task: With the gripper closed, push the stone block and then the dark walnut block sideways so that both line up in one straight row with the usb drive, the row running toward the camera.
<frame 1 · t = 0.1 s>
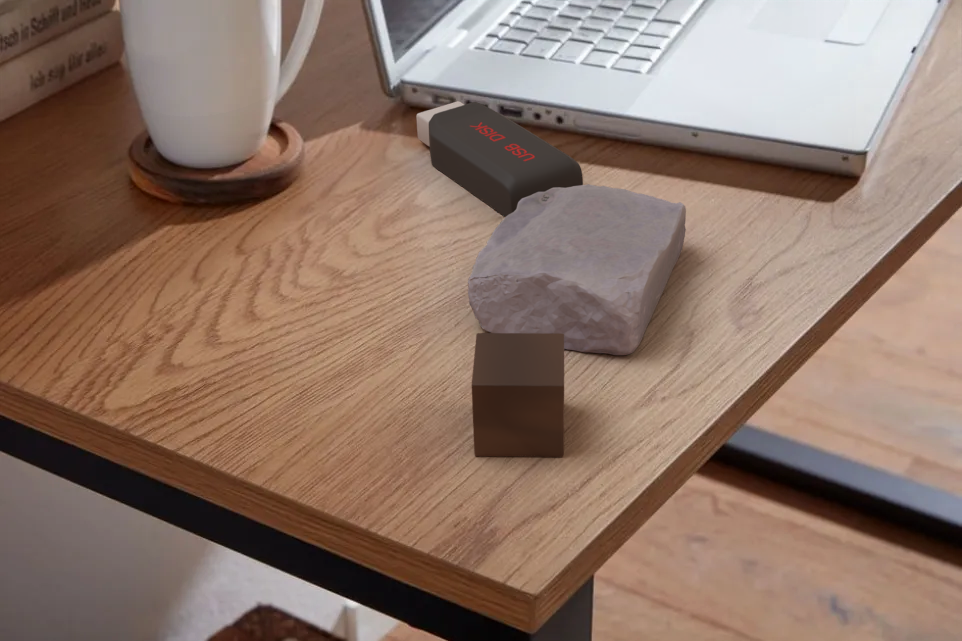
usb drive: (491, 173, 83), on the table
walnut block: (520, 429, 61), on the table
stone block: (573, 291, 71), on the table
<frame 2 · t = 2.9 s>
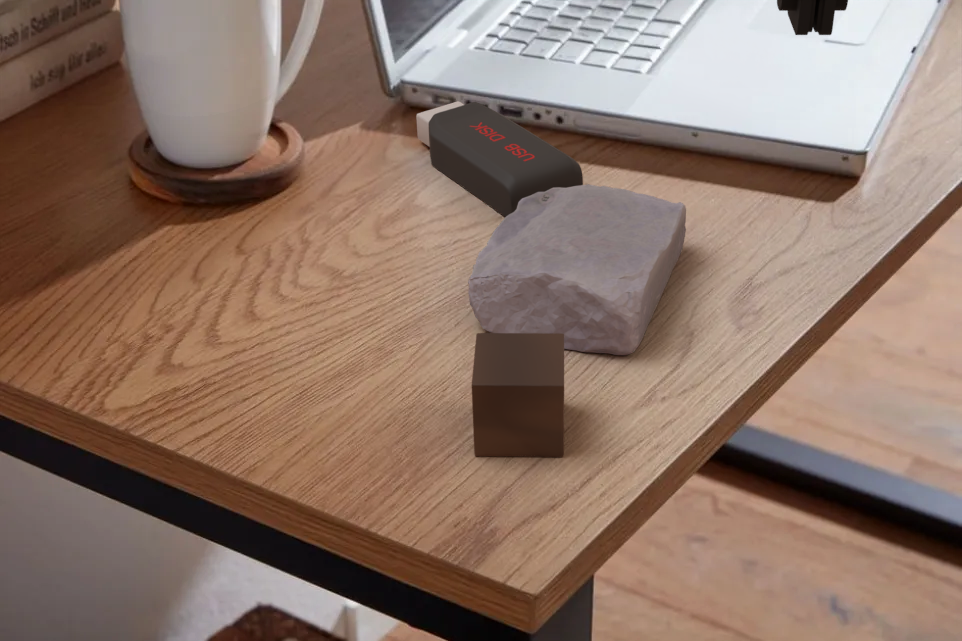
hand: (808, 23, 62), 15 cm above the table, tool pointing down, fingers closed
nothing on the table moved.
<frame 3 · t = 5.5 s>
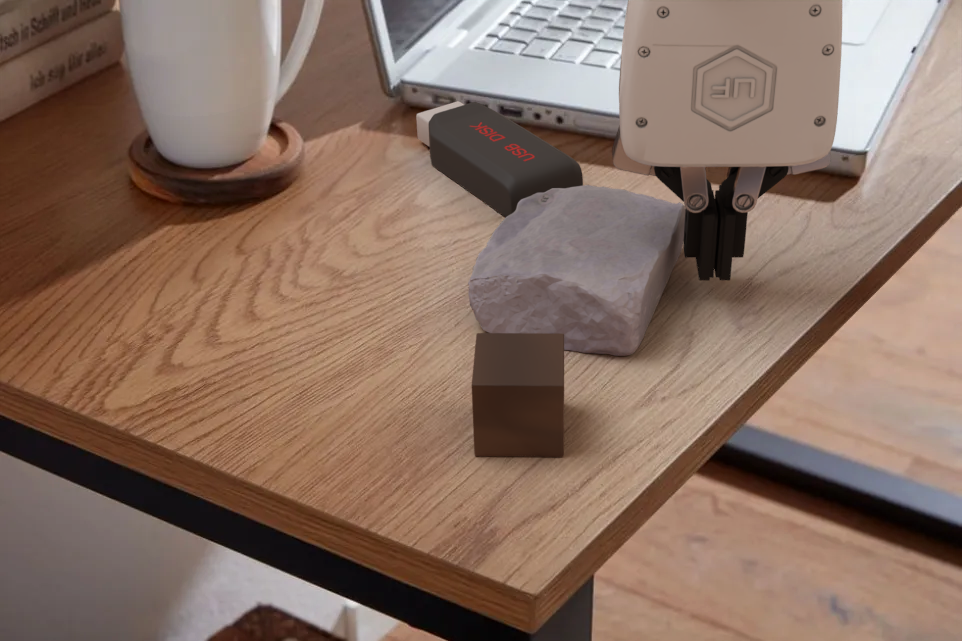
hand: (711, 266, 70), 1 cm above the table, tool pointing down, fingers closed
stone block: (573, 292, 71), on the table, touching gripper
everything else where it was.
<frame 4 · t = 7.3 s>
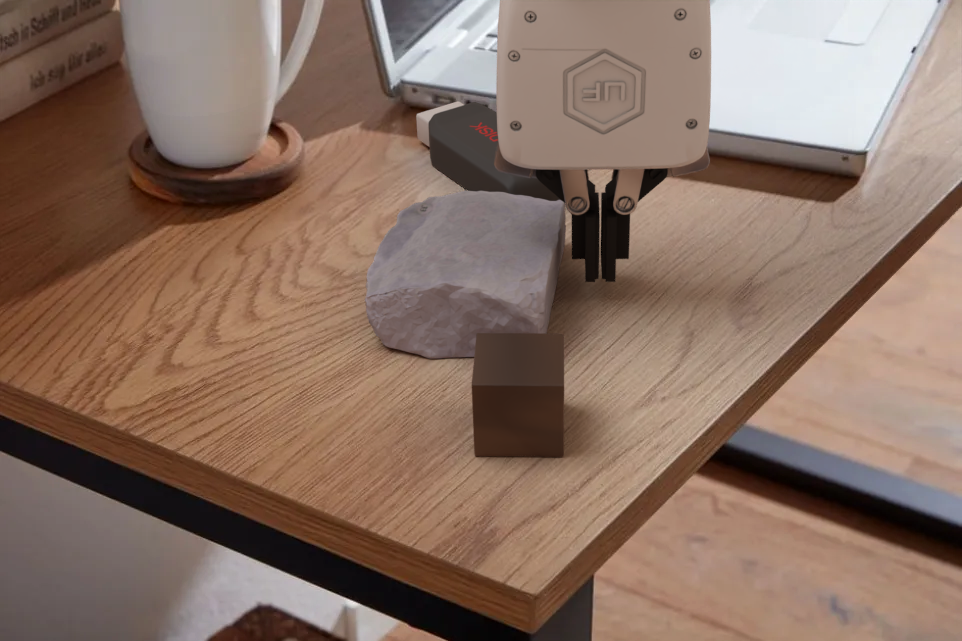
hand: (599, 267, 70), 1 cm above the table, tool pointing down, fingers closed
stone block: (465, 298, 71), on the table, touching gripper
everything else where it was.
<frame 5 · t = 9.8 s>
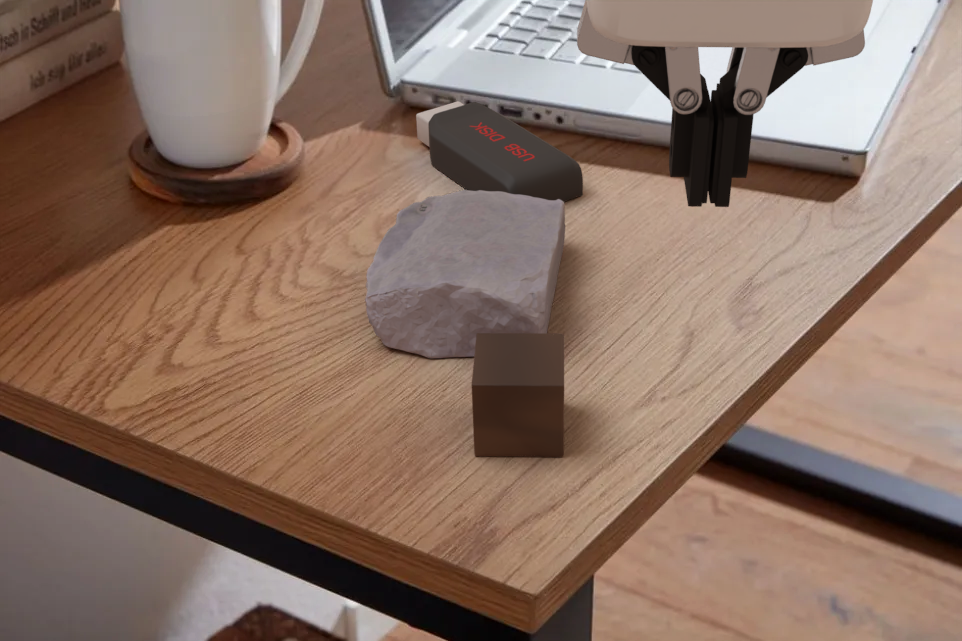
hand: (705, 190, 54), 12 cm above the table, tool pointing down, fingers closed
stone block: (465, 298, 71), on the table
everything else where it was.
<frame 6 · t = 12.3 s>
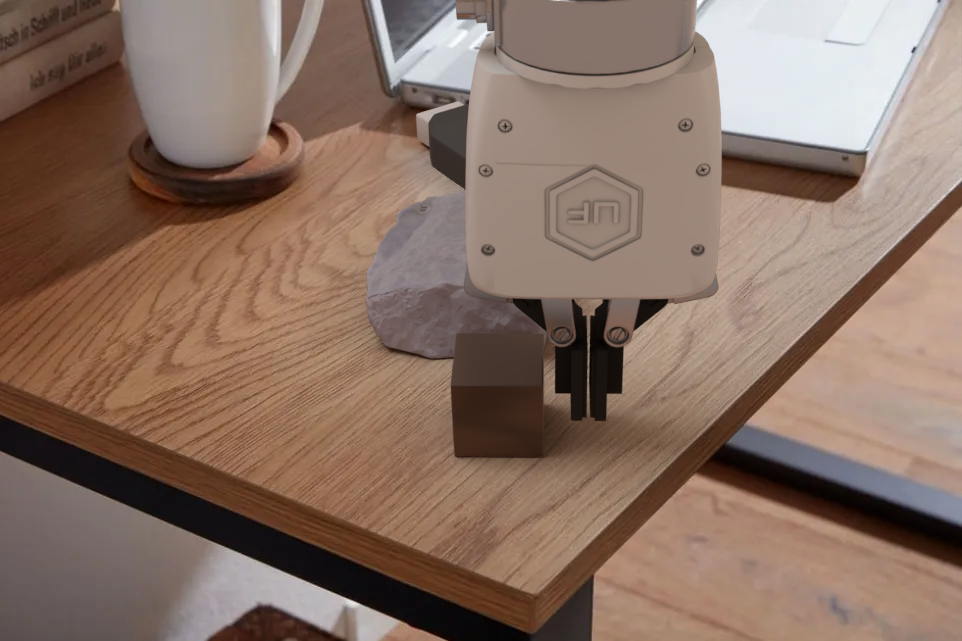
hand: (587, 401, 60), 2 cm above the table, tool pointing down, fingers closed
walnut block: (500, 429, 61), on the table, touching gripper
everything else where it was.
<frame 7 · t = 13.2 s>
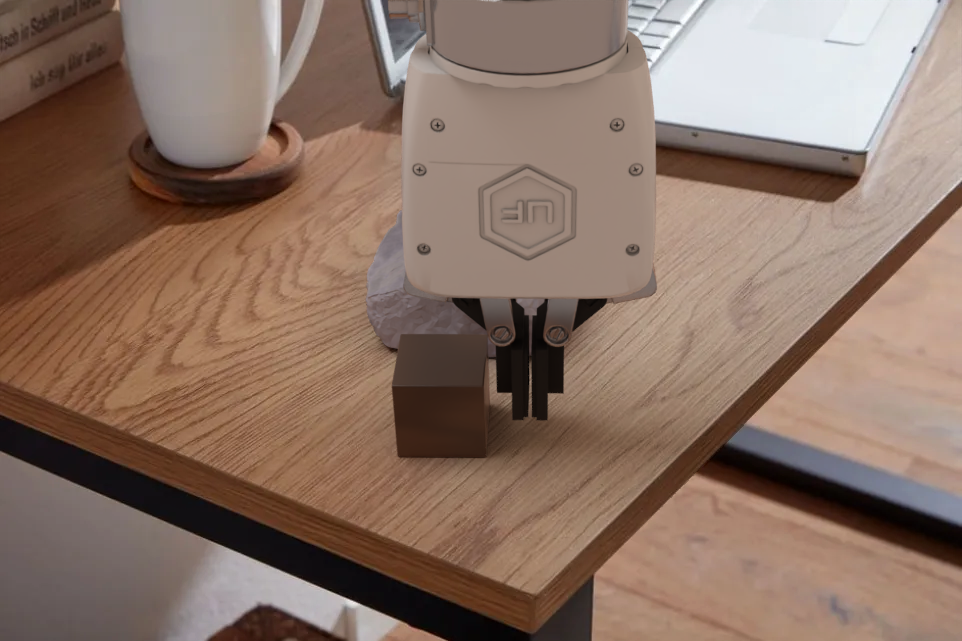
hand: (530, 401, 60), 2 cm above the table, tool pointing down, fingers closed
walnut block: (444, 429, 62), on the table, touching gripper
everything else where it was.
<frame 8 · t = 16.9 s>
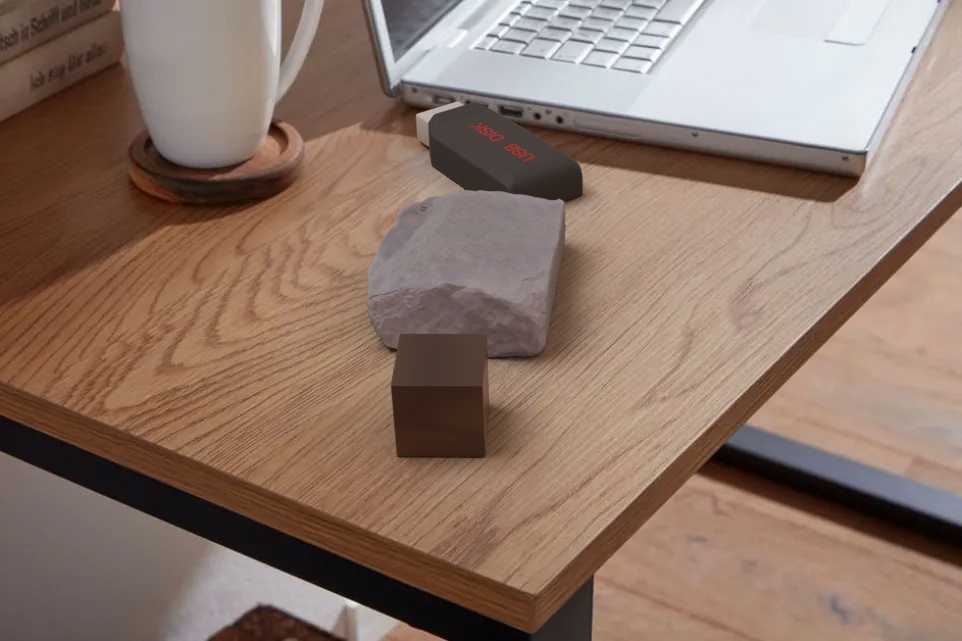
walnut block: (444, 429, 62), on the table
everything else where it was.
at the end: stone block 0.8 cm from the target spot, on the table; walnut block 0.8 cm from the target spot, on the table; usb drive moved 0.2 cm from its start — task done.
